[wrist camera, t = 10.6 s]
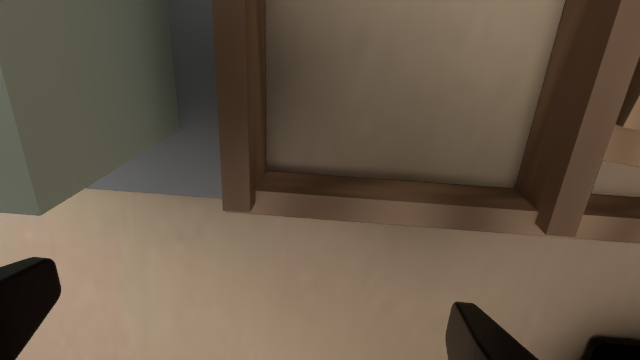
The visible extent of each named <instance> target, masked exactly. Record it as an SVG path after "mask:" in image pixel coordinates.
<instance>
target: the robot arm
mask: <svg viewBox="0 0 640 360" xmlns="http://www.w3.org/2000/svg"><path fill="white" fill-rule="evenodd" d="M60 294H61V285H60V281H59V277H58V273H57V268H56V265H55V262H54V261H53V260H51V259H49V258H40V257H31V258H28V259H24V260H21V261H18V262H15V263H12V264H9V265H6V266H3V267H0V360H15V359H16V358H17V357H18V355H19V354H20V352H21V351H22V350H23V348H24V347H25V346H26V344H27V343H28V341H29V340H30V339H31V337H32V336H33V334H34V333H35V331H36V330H37V329H38V327H39V326H40V324H41V323H42V322H43V320H44V319H45V317H46V316H47V315H48V313H49V312H50V310H51V309H52V308H53V306H54V305H55V303H56V302H57V300H58V299H59V297H60ZM446 347H447V354H448V360H538V359H537V358H536V357H535V356H534V355H533V354H531V353H530V352H529V351H528V350H527V349H526V348H525V347H523V346H522V345H521V344H520V343H519V342H518V341H517V340H515V339H514V338H513V337H512V336H511V335H510V334H509V333H507V332H506V331H505V330H504V329H503V328H502V327H500V326H499V325H498V324H497V323H496V322H495V321H494V320H492V319H491V318H490V317H489V316H488V315H487V314H486V313H484V312H483V311H482V310H481V309H480V308H479V307H478V306H476V305H475V304H473V303H465V302H455V303H453V305H452V308H451V312H450V316H449V321H448V325H447V330H446ZM583 360H640V341H635V340H624V339H612V338H596V339H594V340H592V341H591V343H590V344H589V347H588V349H587V351H586V354H585V356H584V359H583Z"/></svg>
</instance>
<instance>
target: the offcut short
mask: <svg viewBox="0 0 640 360" xmlns="http://www.w3.org/2000/svg"><path fill="white" fill-rule="evenodd" d="M616 125H619V126H622V127H625V128H630V129H634V130H639V131H640V57H639V60H638V63H637V65H636V68H635V71H634V74H633V77H632V79H631V82H630V85H629V88H628V91H627V93H626V96H625V99H624V102H623V105H622V107H621V110H620V113H619V116H618V119H617V121H616Z"/></svg>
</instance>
